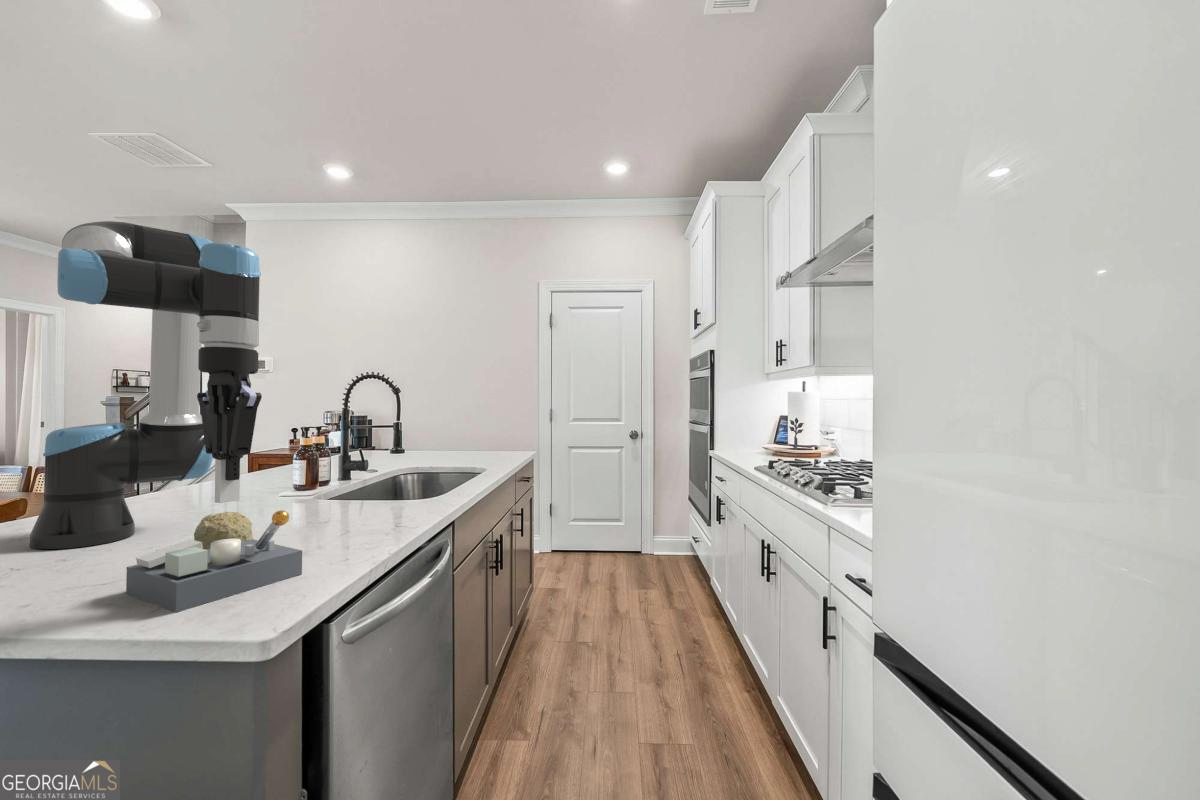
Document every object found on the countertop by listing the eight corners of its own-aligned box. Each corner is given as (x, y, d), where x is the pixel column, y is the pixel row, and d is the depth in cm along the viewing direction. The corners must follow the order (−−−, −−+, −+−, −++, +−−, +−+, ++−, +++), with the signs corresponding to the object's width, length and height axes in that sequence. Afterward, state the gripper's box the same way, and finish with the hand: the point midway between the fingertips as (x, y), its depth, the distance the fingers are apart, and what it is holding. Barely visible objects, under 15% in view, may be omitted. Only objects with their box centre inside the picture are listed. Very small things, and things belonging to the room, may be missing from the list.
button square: (165, 572, 75) (165, 552, 75) (193, 565, 78) (194, 546, 78) (178, 576, 73) (178, 556, 73) (207, 569, 77) (207, 550, 77)
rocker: (137, 564, 78) (135, 558, 78) (190, 544, 84) (189, 539, 84) (149, 568, 76) (148, 561, 76) (203, 548, 82) (201, 542, 82)
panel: (126, 593, 78) (126, 554, 78) (252, 561, 94) (252, 529, 94) (176, 612, 72) (176, 569, 72) (301, 574, 88) (302, 539, 88)
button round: (204, 562, 80) (205, 543, 80) (231, 556, 83) (232, 537, 83) (218, 566, 78) (219, 546, 78) (245, 559, 81) (246, 540, 81)
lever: (249, 541, 86) (273, 508, 83) (264, 538, 88) (288, 506, 85) (255, 553, 85) (279, 520, 82) (270, 550, 87) (294, 517, 84)
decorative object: (251, 564, 103) (236, 519, 106) (268, 544, 98) (251, 497, 101) (195, 581, 96) (180, 532, 98) (209, 561, 90) (193, 509, 93)
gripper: (178, 346, 80) (175, 501, 80) (227, 342, 74) (224, 509, 74) (231, 351, 87) (229, 494, 86) (279, 348, 81) (277, 501, 81)
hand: (227, 501), depth 80 cm, fingers closed
